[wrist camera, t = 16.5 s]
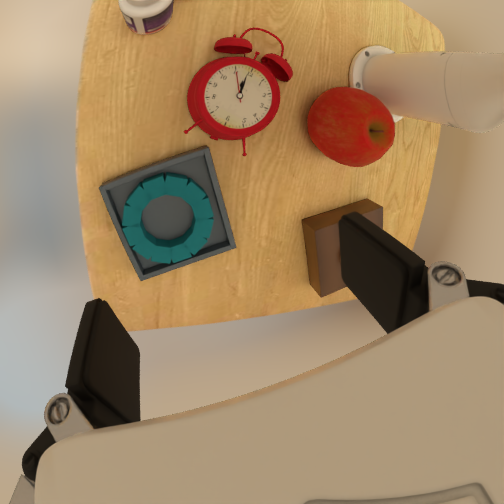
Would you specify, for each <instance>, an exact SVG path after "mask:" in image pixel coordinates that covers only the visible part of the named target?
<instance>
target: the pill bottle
mask: <svg viewBox="0 0 504 504" xmlns="http://www.w3.org/2000/svg"><path fill="white" fill-rule="evenodd" d="M173 1H174V0H119V7H120V10H121V12H122V14H123V17H124V19H125V21H126V23H127V25H128V27H129V28H130V30H132V31H133V32H135V33H137V34H142V35H147V34H153V33H156V32H158V31H160V30H162V29H163V28H164V27H165V26H166V25H167V24H168V23H169V21H170V20H171V17H172V12H173Z"/></svg>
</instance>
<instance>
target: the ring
mask: <svg viewBox="0 0 504 504" xmlns="http://www.w3.org/2000/svg"><path fill="white" fill-rule="evenodd" d="M164 195H170V196H176V197H181V198H182V199H183V200H184V201H185V202H187V203H188V204H189V205H190V206H191V207H192V210H193V213H194V215H193V219H192V224H191V227H190V228H189V229H188V230H187V231H186V232H185V233H184V234H183V235H182V236H181V237H178V238H175V239H172V240H164V239H157V238H155V237H154V236H152V235H151V234H150V233H148V232H147V231H146V229H145V227H144V224H143V222H142V219H141V217H142V211H143V210H144V208H145V207H146V206H147V205H148V204H149V202H150V201H151V200H153V199H155V198H158V197H161V196H164ZM213 217H214V214H213V211H212V207H211V204H210V201H209V198H208V196H207V194H206V193H205V191H204V189H203V188H202V187H200V186H199V185H198V184H197V183H196V182H195V181H194V180H192V179H191V178H190V177H189V178H187V176H186V175H181V174H176V173H170V172H166V175H165V176H164V173H163V172H162V173H159V174H156V175H154V176H151V177H148V178H146V179H144V180H143V183H142V182H140V183H139V184H138V185H137V186H136V188H135V189H134V190H133V191H132V192H131V194H130V195H129V196H128V198H127V200H126V203H125V205H124V211H123V219H122V226H123V228H122V229H123V232H124V234H125V236H126V238H127V241H128V243H129V245H130V246H133V248H132V249H133V250H135V251H136V252H137V253H139V254H140V255H142V256H143V257H144V258H146V259H147V260H148V259H149V258H150V257H151V261H153V262H160V263H168V264H170V263H171V259H172V262H173V263H176V262H179V261H181V260H184V259H187V258H190V257H192V255H191V253H192V254H193V255H195V254H196V253H197V252H198V251H199V250H200V249H201V248H202V247H203V246H204V245H205V244H206V243H207V241H208V240H207V238H210V234H211V230H212V226H213V222H214V219H213Z"/></svg>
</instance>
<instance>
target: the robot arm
mask: <svg viewBox="0 0 504 504" xmlns="http://www.w3.org/2000/svg"><path fill="white" fill-rule="evenodd" d="M349 82H350V87H351V88H357V89H361V90H363V91H365V92H367V93H369V94H371V95H373V96H375V97H377V98H378V99H379V100H380V101H381V102H382V103H383V104H384V105H385V106H386V107H387V108H388V110H389V111H390V113H391V115H392V117H393V120H394V123H395V122H398V121H399V120H401V119H402V118H403V117H408V118H414V119H420V120H425V121H430V122H434V123H439V124H443V125H448V126H452V127H456V128H460V129H464V130H468V131H472V132H476V133H485V132H489V131H491V130H493V129H495V128H497V127H498V126H499V125H501V124H502V123H503V122H504V54H503V53H476V52H446V51H432V52H406V53H395V52H394V51H392V50H391V49H389V48H386V47H384V46H379V45H376V46H368V47H365V48H363V49H361V50H360V51H359V52H358V53H357V54H356V55H355V57H354V58H353V61H352V63H351V66H350V71H349ZM338 227H339V241H340V258H341V276H342V280H343V282H344V283H345V284H346V286H347V287H348V288H349V289H350V290H351V291H352V292H353V294H354V295H355V296H356V297H357V298H358V299H359V300H360V302H361V303H362V304H363V305H364V306H365V307H366V309H367V310H368V311H369V312H370V313H371V314H372V316H373V317H374V318H375V319H376V320H377V321H378V323H379V324H380V325H381V326H382V328H383V329H384V330H385V331H386V332H387V335H385V336H383V337H381V338H379V339H377V340H375V341H373V342H371V343H369V344H367V345H365V346H363V347H361V348H359V349H357V350H355V351H353V352H351V353H348V354H346V355H344V356H343V357H340V358H338V359H336V360H333V361H331V362H329V363H327V364H324V365H322V366H320V367H317V368H315V369H312V370H310V371H307V372H305V373H303V374H300V375H297V376H295V377H293V378H290V379H287V380H285V381H282V382H279V383H276V384H274V385H271V386H268V387H265V388H262V389H260V390H257V391H254V392H251V393H248V394H245V395H241V396H238V397H235V398H232V399H229V400H225V401H222V402H219V403H215V404H212V405H208V406H204V407H200V408H197V409H193V410H189V411H185V412H181V413H176V414H172V415H168V416H163V417H158V418H153V419H148V420H143V421H140V383H139V380H140V377H139V376H140V352H139V348H138V346H137V345H136V343H135V342H134V341H133V339H132V338H131V337H130V335H129V334H128V332H127V331H126V330H125V328H124V327H123V325H122V324H121V322H120V321H119V319H118V318H117V316H116V315H115V313H114V312H113V310H112V309H111V307H110V306H109V304H108V303H107V302H106V301H105V300H104V301H102V300H101V299H100V298H98V299H95V300H92V301H89V302H87V303H86V305H85V308H84V312H83V315H82V318H81V321H80V325H79V329H78V332H77V336H76V340H75V344H74V348H73V352H72V356H71V360H70V365H69V369H68V374H67V379H66V384H65V387H66V388H68V393H67V394H66V393H59V394H57V395H55V396H54V397H52V398H51V399H50V401H49V402H48V403H47V405H46V407H45V412H44V419H45V422H46V424H47V427H46V428H45V429H44V431H43V432H42V433H41V434H40V436H38V438H37V439H36V440H35V441H34V442H33V443H32V445H31V446H30V447H29V448H28V449H27V451H26V452H25V454H24V456H23V459H22V468H23V472H24V474H25V476H24V475H21V476H20V478H19V481H18V483H17V486H16V488H15V490H14V493H13V495H12V498H11V501H10V503H9V504H504V285H503V284H499V283H491V282H483V281H475V280H467V279H466V278H465V274H464V272H463V271H462V270H461V268H459V267H458V266H457V265H455V264H452V263H449V262H437V263H434V264H432V265H431V266H430V267H429V268H428V267H426V266H425V261H424V260H423V259H421V258H420V257H419V256H418V255H416V254H415V253H414V252H412V251H411V250H410V249H409V248H407V247H406V246H405V245H403V244H402V243H400V242H399V241H398V240H396V239H395V238H394V237H392V236H391V235H390V234H388V233H387V232H385V231H384V230H383V229H381V228H380V227H378V226H377V225H376V224H374V223H373V222H371V221H370V220H368V219H367V218H365V217H364V216H363V215H361V214H360V213H358V212H356V211H354V212H351V213H348V214H345V215H343V216H342V217H341V220H339V222H338Z"/></svg>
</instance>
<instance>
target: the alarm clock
mask: <svg viewBox="0 0 504 504" xmlns="http://www.w3.org/2000/svg"><path fill="white" fill-rule="evenodd" d="M254 29H255V30H261V31H264V32H266V33H268V34H270V35H272V36H273V37H275V38H276V39H277V40H278V41H279V42H280V44H281V48H282V51H281V56H279V55H276V54H273V53H270V54H266V55H265V56H263V57H262V59H261V62H262V63H260V62H258V61H256V60H255V59H256V57H257V55H259V54H260V53H259V52H257V51H256V52H255V54H256V55H255V57H254V58H253V59H251V58H248V57H245V53H250V52H252V44H251V43H250V42H249V41H248V40H246V39H242V37H243V36H244V35H245V34H246V33H247V32H248V31H250V30H254ZM214 50H215V51H217V52H222V53H230V54H244V57H238V56H236V57H223V58H219V59H216V60H213V61H211V62H209V63H208V64H206V65H205V66H203V67H202V68H201V69H200V70H199V71H198V72H197V73H196V75H195V76H194V78H193V79H192V81H191V83H190V86H189V89H188V95H187V102H188V108H189V112H190V114H191V116H192V118H193V120H194V121H195V124H194V125H193V126H192V127H190V128H189V129H188V130H185V131H184V133H185V134H187V133H188V131H190V130H191V129H192V128H194V127H195V126H197V125H198V126H199V127H200V128H201V129H202V130H203V131H204V132H206V133H208V134H209V135H211V137H210V138H212V139H214V140H218V138H219V139H224V140H238V139H242V141H243V152H244V153H243V156H246V155H247V154H246V153H245V138H246V137H249V136H251V135H253V134H255V133H257V132H259V131H261V130H262V129H264V128H265V127H266V126H267V125H268V124H269V123H270V122H271V121H272V120H273V118H274V117H275V115H276V113H277V111H278V108H279V104H280V90H279V86H278V83H277V80H276V78H277V79H279V80H280V81H283V82H288V81H289V80H290V79H291V77H292V76H293V71H292V68H291V67H290V65H289V64H288V62H286V61H287V59H285V60H284V59H283V58H282V56H283V52H284V46H283V43H282V41H281V40H280V39H279V38H278V37H277V36H275V35H274V34H272V33H270V32H269V31H266V30H264V29H260V28H249V29H247V30H246V31H245V32H244V33H243V34H242V35H241V36H240V38H236V35H235V34H234V35H233V37H227V38H222V39H220V40H218V41H217V42H216V43H215V46H214Z"/></svg>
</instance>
